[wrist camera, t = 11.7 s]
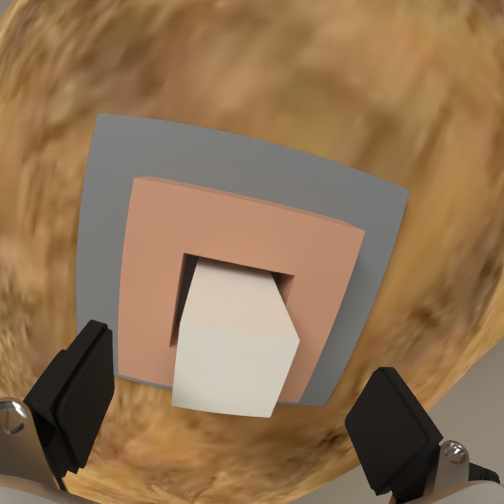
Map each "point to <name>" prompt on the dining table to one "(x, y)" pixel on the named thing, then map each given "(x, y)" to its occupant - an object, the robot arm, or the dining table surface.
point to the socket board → (241, 175)
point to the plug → (232, 341)
